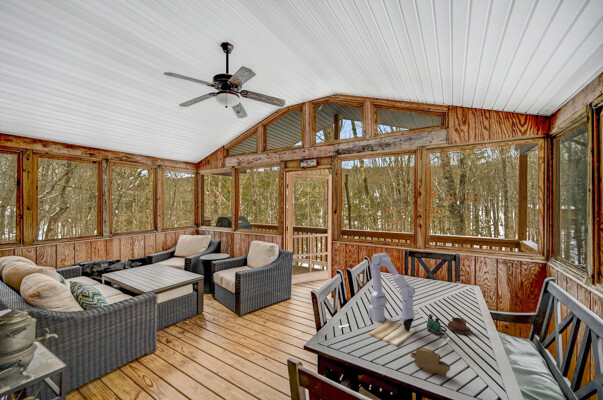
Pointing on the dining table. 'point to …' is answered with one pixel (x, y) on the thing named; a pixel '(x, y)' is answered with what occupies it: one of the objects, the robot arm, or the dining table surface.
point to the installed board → (385, 329)
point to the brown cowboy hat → (459, 326)
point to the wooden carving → (430, 361)
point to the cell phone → (343, 326)
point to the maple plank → (398, 336)
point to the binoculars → (435, 326)
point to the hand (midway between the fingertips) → (407, 330)
